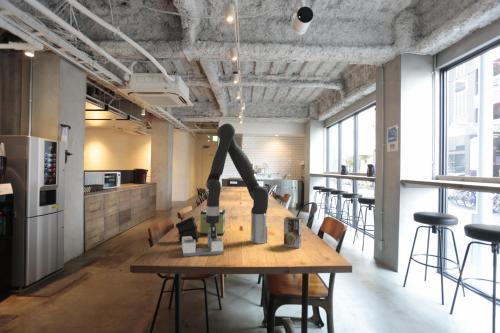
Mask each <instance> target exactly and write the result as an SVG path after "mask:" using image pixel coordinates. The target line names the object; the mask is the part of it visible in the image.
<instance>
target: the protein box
mask: <svg viewBox="0 0 500 333" xmlns="http://www.w3.org/2000/svg"><path fill="white" fill-rule="evenodd" d="M219 210H220V211H219V223H215V225H216V233H217V237H218V236H223V237H224V234H225V233H226V230H225V228H226V209H219ZM199 218H200V220H199V222H200V224H199V227H200V228H199V236H208V234H209V223H206V209H202V210H201V211H200V217H199Z"/></svg>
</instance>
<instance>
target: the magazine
mask: <svg viewBox="0 0 500 333" xmlns="http://www.w3.org/2000/svg"><path fill="white" fill-rule="evenodd" d="M195 219H196V218H195V217H194V216H191V217H188V218H186V219H184V220H181V221H180V222H179V221H178V222H177V223H176V224H175V228H177V231H178V232H177V235H178V236H179V237H178V242H179V243H182V237H188V236H191V237H192V238H193V239H195V242H196V244H197V243H198V242H199V238H200V235H199V232H198V225H197V223H196V221H195Z"/></svg>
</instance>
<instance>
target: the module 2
mask: <svg viewBox="0 0 500 333" xmlns="http://www.w3.org/2000/svg"><path fill="white" fill-rule="evenodd" d="M212 236H214V234H212ZM216 238H218V236H217V233H216ZM210 239H211V235H210V233H209V234H208V235H207V248H210Z"/></svg>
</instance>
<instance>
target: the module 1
mask: <svg viewBox="0 0 500 333" xmlns="http://www.w3.org/2000/svg"><path fill="white" fill-rule="evenodd" d="M191 239H193V238H192V237H191V236H188V237H182V242H181V249H182V250H183V240H191Z"/></svg>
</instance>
